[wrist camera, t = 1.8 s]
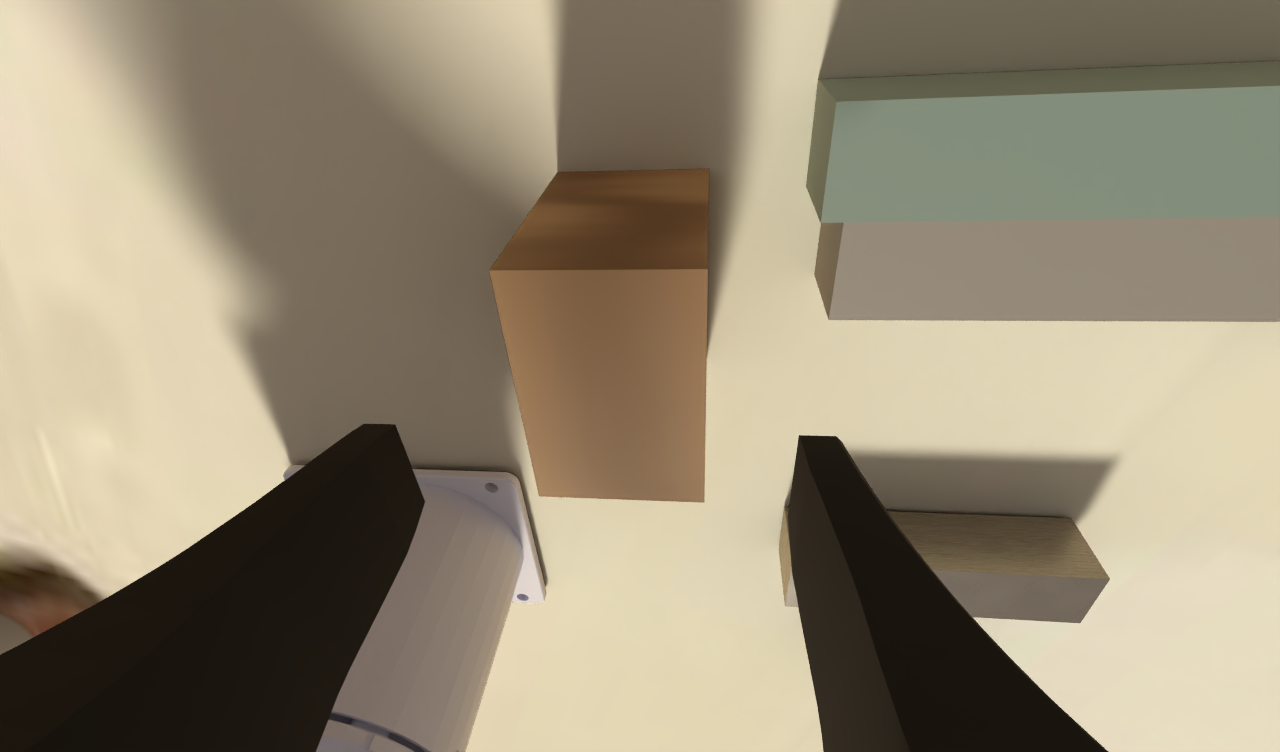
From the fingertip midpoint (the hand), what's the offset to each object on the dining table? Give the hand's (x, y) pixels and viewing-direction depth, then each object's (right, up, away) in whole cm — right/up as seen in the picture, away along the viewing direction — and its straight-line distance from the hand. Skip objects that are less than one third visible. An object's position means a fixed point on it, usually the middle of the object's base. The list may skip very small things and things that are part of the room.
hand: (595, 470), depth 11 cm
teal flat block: (+11, +6, +4) cm, 13 cm away
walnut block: (+1, +5, +7) cm, 8 cm away
